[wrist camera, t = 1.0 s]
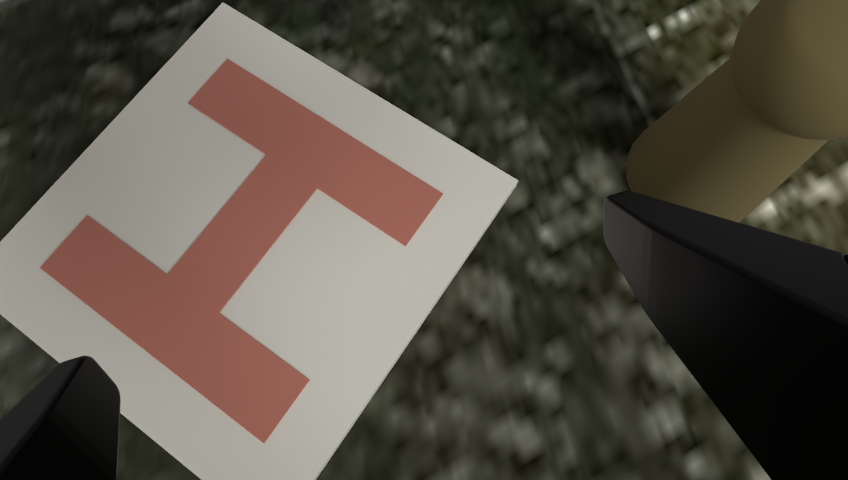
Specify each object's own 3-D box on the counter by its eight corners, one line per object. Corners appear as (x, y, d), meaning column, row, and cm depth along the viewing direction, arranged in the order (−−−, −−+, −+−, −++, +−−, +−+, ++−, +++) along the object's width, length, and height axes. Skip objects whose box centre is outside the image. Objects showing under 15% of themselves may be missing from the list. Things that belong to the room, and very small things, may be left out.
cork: (603, 142, 26) (718, -34, 15) (714, 101, 26) (900, -99, 16) (664, 255, 24) (840, 145, 14) (782, 208, 25) (1040, 67, 14)
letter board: (277, 535, 21) (272, 539, 21) (-27, 285, 25) (-40, 282, 24) (516, 185, 25) (518, 179, 25) (227, 10, 28) (222, 0, 28)
